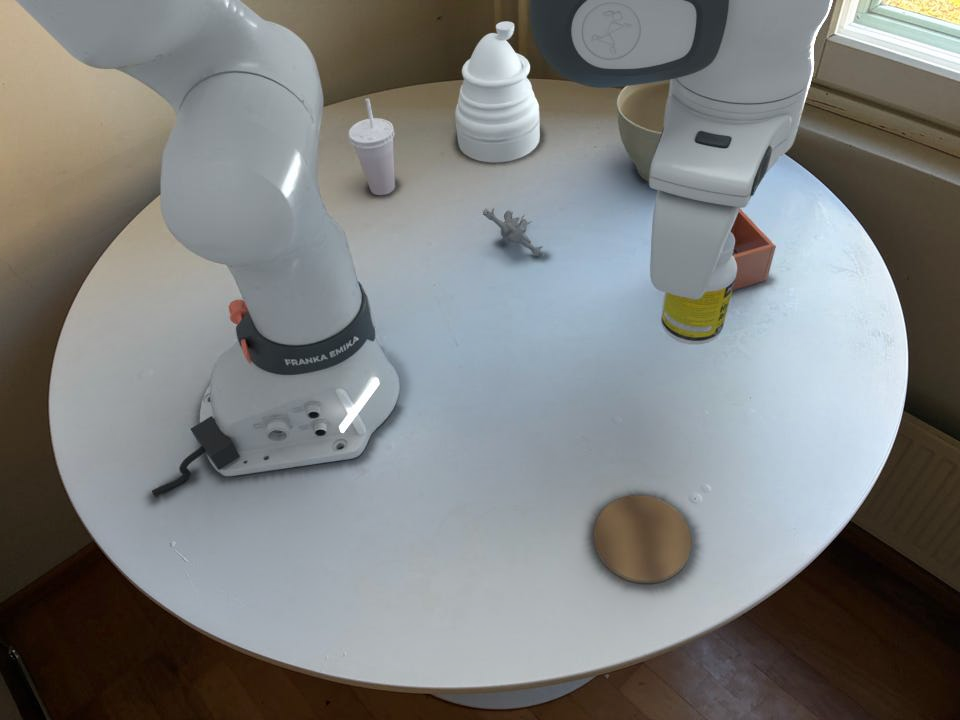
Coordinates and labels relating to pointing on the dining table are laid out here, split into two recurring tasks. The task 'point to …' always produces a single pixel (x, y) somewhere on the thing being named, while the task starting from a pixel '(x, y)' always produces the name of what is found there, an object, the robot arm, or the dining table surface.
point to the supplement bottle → (702, 304)
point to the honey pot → (497, 102)
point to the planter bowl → (642, 121)
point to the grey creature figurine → (514, 230)
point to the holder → (751, 252)
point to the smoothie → (375, 151)
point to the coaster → (642, 539)
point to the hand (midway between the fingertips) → (702, 263)
